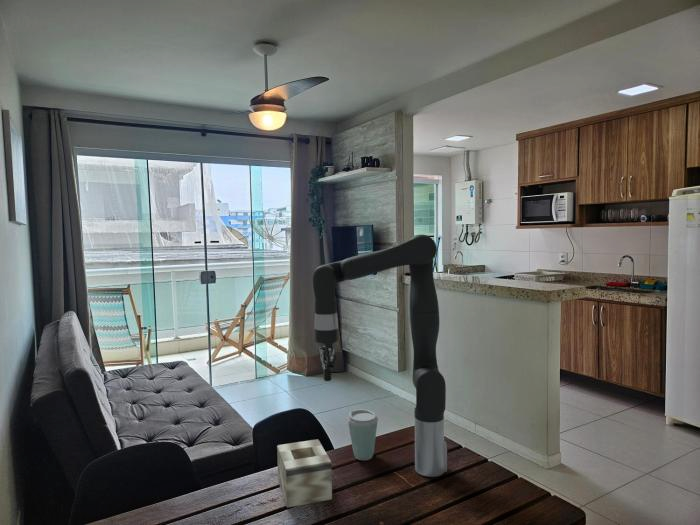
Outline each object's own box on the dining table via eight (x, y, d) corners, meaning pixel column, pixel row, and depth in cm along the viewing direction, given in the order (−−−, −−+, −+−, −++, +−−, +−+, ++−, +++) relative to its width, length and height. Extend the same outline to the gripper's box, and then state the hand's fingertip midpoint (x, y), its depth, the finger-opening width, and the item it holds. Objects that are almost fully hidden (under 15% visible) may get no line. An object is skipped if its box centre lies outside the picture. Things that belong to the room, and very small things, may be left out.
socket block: (318, 472, 150) (317, 438, 150) (332, 500, 134) (331, 462, 134) (277, 479, 147) (276, 444, 146) (287, 508, 130) (286, 470, 130)
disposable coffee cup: (384, 454, 162) (383, 411, 162) (368, 467, 153) (367, 421, 153) (358, 447, 168) (357, 405, 167) (341, 459, 159) (340, 415, 158)
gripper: (343, 329, 146) (344, 385, 146) (332, 322, 158) (333, 373, 159) (319, 331, 143) (321, 387, 144) (310, 324, 156) (311, 376, 157)
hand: (327, 380), depth 152 cm, fingers closed
